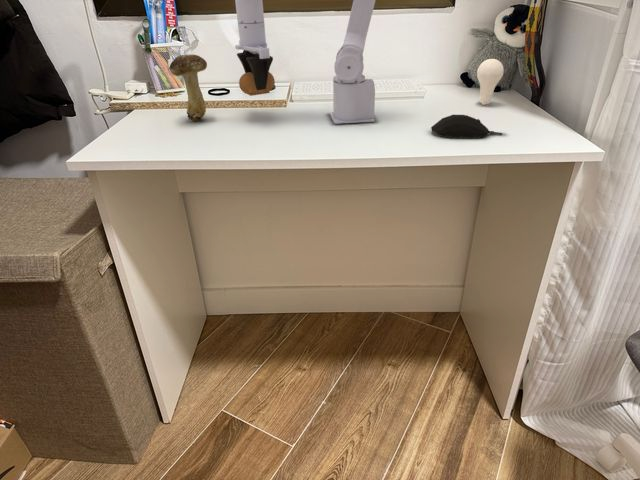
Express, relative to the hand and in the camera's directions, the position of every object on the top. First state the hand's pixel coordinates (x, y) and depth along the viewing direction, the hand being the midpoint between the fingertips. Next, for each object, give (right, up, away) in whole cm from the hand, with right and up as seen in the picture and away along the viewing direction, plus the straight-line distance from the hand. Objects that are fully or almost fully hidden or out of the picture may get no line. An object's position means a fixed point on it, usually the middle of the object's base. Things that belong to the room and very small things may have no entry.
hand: (257, 86), depth 102 cm
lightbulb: (+57, -1, +10) cm, 57 cm away
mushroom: (-15, -7, +4) cm, 17 cm away
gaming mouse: (+46, -13, -8) cm, 49 cm away
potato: (0, -1, +1) cm, 1 cm away
